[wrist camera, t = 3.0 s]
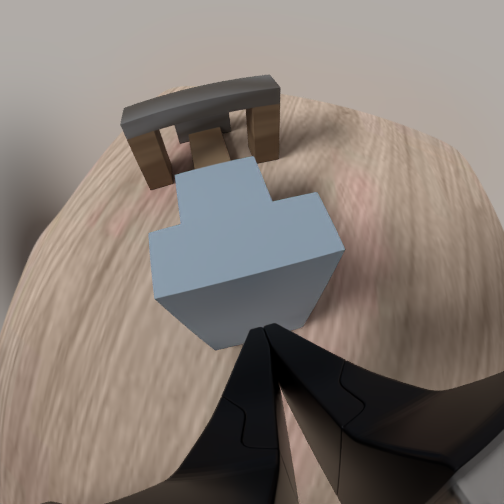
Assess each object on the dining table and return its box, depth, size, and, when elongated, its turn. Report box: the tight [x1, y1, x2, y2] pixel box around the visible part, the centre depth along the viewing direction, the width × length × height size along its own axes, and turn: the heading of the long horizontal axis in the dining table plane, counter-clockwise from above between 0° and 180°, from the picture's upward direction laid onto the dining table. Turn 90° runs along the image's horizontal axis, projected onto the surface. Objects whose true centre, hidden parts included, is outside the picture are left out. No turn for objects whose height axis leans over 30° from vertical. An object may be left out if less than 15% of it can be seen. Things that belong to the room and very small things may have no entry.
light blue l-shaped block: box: [149, 156, 345, 350], centre depth 13 cm, size 10×5×9 cm, turn 15°
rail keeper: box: [121, 75, 280, 190], centre depth 17 cm, size 18×11×7 cm, turn 15°
